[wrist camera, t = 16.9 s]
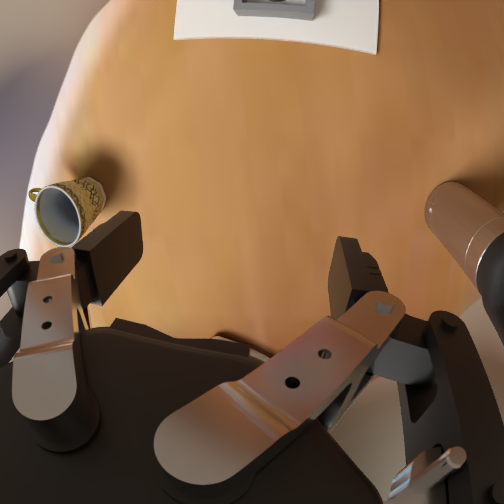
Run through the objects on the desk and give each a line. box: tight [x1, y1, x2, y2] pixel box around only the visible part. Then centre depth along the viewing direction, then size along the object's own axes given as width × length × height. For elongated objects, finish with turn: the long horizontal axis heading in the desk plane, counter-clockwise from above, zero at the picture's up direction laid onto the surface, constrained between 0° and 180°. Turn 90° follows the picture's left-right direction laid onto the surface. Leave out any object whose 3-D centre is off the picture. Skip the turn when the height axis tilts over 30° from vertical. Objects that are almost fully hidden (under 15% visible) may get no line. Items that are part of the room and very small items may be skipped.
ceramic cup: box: [29, 177, 106, 247], centre depth 43 cm, size 13×10×10 cm
